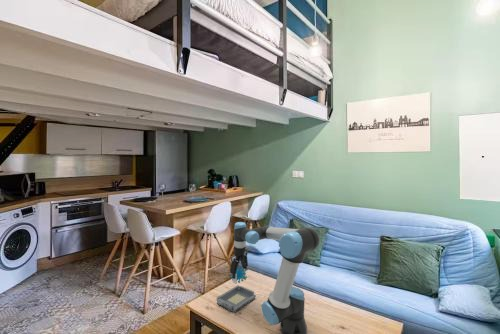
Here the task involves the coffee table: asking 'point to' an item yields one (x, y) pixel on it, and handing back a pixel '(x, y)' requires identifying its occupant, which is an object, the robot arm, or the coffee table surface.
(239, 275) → the gear
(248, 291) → the gray metal tray
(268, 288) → the coffee table surface
